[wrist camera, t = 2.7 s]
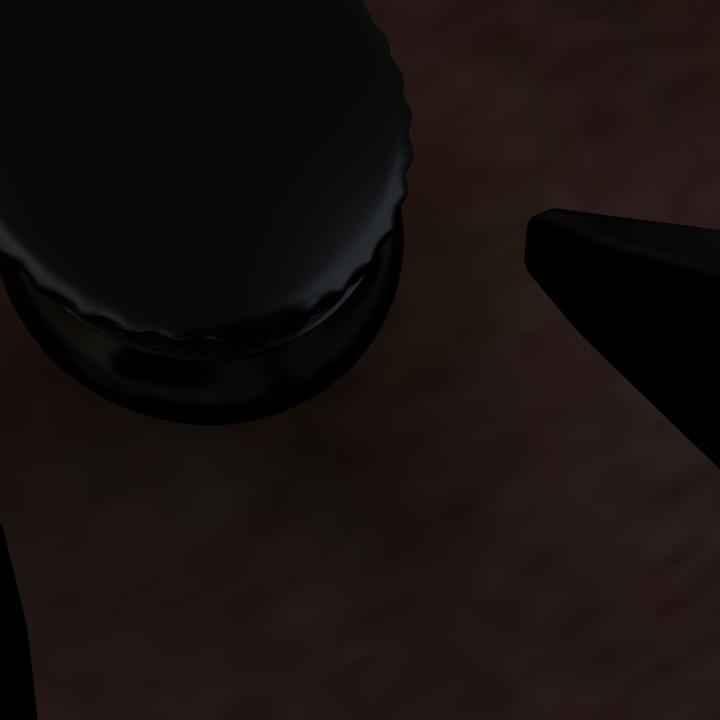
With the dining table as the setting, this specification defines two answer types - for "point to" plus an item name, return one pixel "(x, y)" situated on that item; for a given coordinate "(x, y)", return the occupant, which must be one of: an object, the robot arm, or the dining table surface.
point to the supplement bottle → (201, 196)
